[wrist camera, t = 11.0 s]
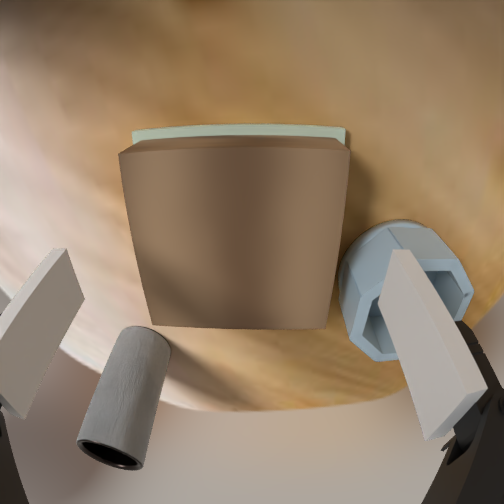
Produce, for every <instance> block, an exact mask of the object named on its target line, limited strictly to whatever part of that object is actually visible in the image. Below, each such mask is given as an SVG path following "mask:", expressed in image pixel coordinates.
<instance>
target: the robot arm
mask: <svg viewBox="0 0 504 504" xmlns="http://www.w3.org/2000/svg"><path fill="white" fill-rule="evenodd" d="M84 300H85V298H84V296H83V293H82V291H81V288H80V285H79V283H78V280H77V277H76V275H75V272H74V269H73V266H72V263H71V260H70V258H69V255H68V252H67V249H52V250H51V252H50V253H49V254H48V255H47V256H46V257H45V259H44V260H43V261H42V262H41V263H40V265H39V266H38V267H37V268H36V269H35V271H34V272H33V273H32V274H31V276H30V277H29V278H28V279H27V281H26V282H25V283H24V285H23V286H22V287H21V289H20V290H19V291H18V292H17V294H16V295H15V296H14V298H13V299H12V300H11V302H10V303H9V305H8V306H7V307H6V309H5V310H4V312H2V313H1V314H0V409H1V406H2V405H3V407H4V408H5V409H6V410H7V411H8V412H9V413H10V414H12V415H14V416H17V417H19V418H22V419H25V418H26V416H27V413H28V411H29V409H30V406H31V404H32V402H33V399H34V397H35V395H36V392H37V390H38V388H39V386H40V384H41V382H42V380H43V377H44V375H45V373H46V371H47V369H48V367H49V365H50V363H51V361H52V359H53V357H54V355H55V353H56V351H57V349H58V347H59V345H60V343H61V341H62V339H63V337H64V336H65V334H66V332H67V330H68V328H69V326H70V324H71V323H72V321H73V319H74V317H75V315H76V314H77V312H78V310H79V308H80V307H81V305H82V303H83V301H84ZM378 306H379V308H380V311H381V313H382V316H383V318H384V321H385V323H386V326H387V329H388V331H389V334H390V336H391V339H392V342H393V345H394V347H395V350H396V353H397V355H398V358H399V361H400V364H401V367H402V370H403V373H404V375H405V378H406V381H407V384H408V387H409V390H410V393H411V397H412V399H413V403H414V406H415V409H416V413H417V416H418V419H419V423H420V426H421V429H422V433H423V436H424V440H425V441H428V440H432V439H435V438H439V437H443V436H445V435H446V434H447V433H448V432H449V431H450V430H451V429H452V428H454V432H455V434H456V435H455V436H454V437H453V438H451V439H450V440H449V441H448V442H447V443H446V444H445V445H444V446H443V448H442V449H441V451H444V450H445V449H447V448H448V450H447V452H446V454H445V457H444V459H443V461H442V464H441V466H440V468H439V470H438V472H437V474H436V476H435V479H434V481H433V482H432V485H431V486H430V489H429V490H428V492H427V494H426V496H425V498H424V500H423V502H422V503H421V504H504V389H503V388H502V387H501V385H500V383H499V381H498V379H497V377H496V375H495V373H494V371H493V369H492V367H491V365H490V363H489V361H488V359H487V357H486V355H485V354H484V353H483V349H482V347H481V346H480V344H478V340H477V338H476V337H475V335H474V333H473V331H472V330H471V329H470V328H469V327H468V326H467V325H466V324H465V323H464V322H463V321H462V320H461V321H454V320H453V319H452V317H451V315H450V313H449V312H448V310H447V308H446V306H445V305H444V303H443V301H442V300H441V298H440V296H439V295H438V293H437V291H436V290H435V288H434V287H433V285H432V283H431V282H430V280H429V279H428V277H427V275H426V274H425V272H424V271H423V269H422V268H421V266H420V265H419V263H418V261H417V260H416V258H415V257H414V255H413V254H412V252H411V251H410V250H403V249H393V250H392V254H391V258H390V262H389V266H388V269H387V273H386V276H385V280H384V284H383V287H382V290H381V294H380V297H379V300H378ZM0 504H29V502H28V499H27V497H26V494H25V491H24V488H23V485H22V483H21V480H20V477H19V473H18V470H17V467H16V464H15V460H14V457H13V453H12V449H11V445H10V441H9V437H8V433H7V429H6V424H5V419H4V416H3V413H2V412H1V411H0Z"/></svg>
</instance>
